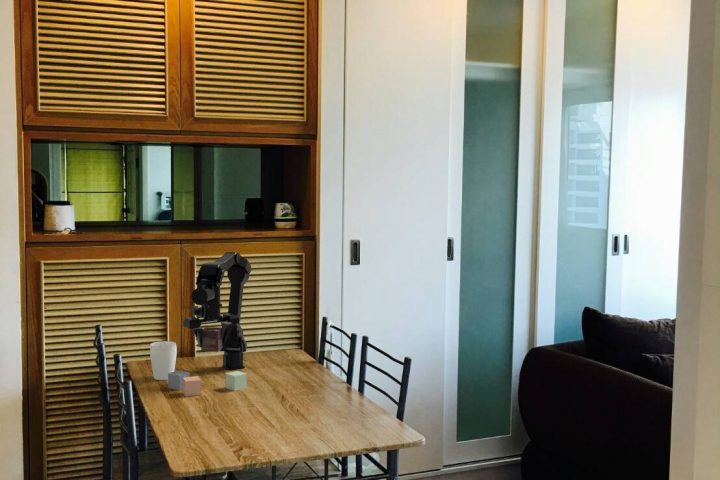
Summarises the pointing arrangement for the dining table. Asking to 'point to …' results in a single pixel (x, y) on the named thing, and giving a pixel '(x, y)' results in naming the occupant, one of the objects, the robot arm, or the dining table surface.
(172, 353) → the cup
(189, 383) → the cube terracotta
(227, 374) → the cube sage
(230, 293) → the robot arm
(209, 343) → the box
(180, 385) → the cube slate
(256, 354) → the dining table surface
